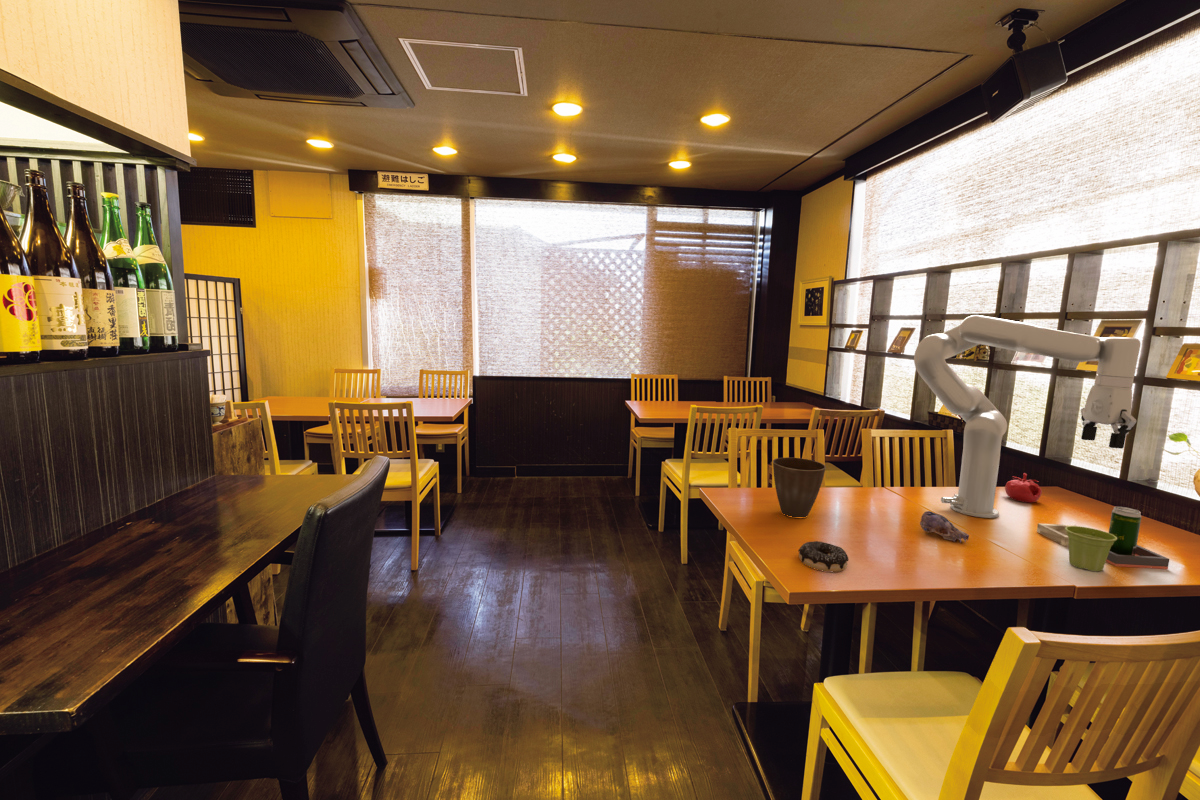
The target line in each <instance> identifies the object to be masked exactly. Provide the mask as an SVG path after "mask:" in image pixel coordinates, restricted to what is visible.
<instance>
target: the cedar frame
mask: <svg viewBox="0 0 1200 800" xmlns="http://www.w3.org/2000/svg"><path fill="white" fill-rule="evenodd" d="M1067 526H1077V525H1076V524H1075V525H1073V524H1056V523H1037V528H1036V532H1037V533H1038V534H1041V535H1042V536H1044V537H1046V538H1048V539H1049V540H1051V541H1053V542H1055V543H1057V544H1059V545H1062V546H1063V547H1069V539H1068V536H1067V531H1066V530H1065V527H1067Z"/></svg>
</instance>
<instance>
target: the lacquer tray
mask: <svg viewBox="0 0 1200 800" xmlns="http://www.w3.org/2000/svg"><path fill="white" fill-rule="evenodd" d="M1105 563H1108V564H1110V565H1112V566H1115V567H1125V568H1126V567H1128V568H1142V569H1143V568H1144V569H1158V570H1159V569H1160V570H1168V569H1169V564H1170V558H1168V557H1166V556H1163V555H1161V554H1159V553H1157V552H1154V551H1152V550H1150V549H1148V548H1145V547H1143V546H1141V545H1138V544H1137V546H1136V552H1135V556H1133V555H1118V554H1115V553H1113V552H1111V551H1109V554H1108V556H1107V559H1106V562H1105Z"/></svg>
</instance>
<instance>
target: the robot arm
mask: <svg viewBox="0 0 1200 800" xmlns="http://www.w3.org/2000/svg"><path fill="white" fill-rule="evenodd" d="M979 345H983V346H990V347H994V348H999V349H1004V350H1007V351H1014V352H1020V353H1025V354H1027V353H1028V354H1034V355H1040V356H1044V357H1049V358H1054V359H1059V360H1065V361H1070V362H1076V363H1085V362H1098V363H1097V369H1096V375H1095V379H1094V383H1093V385H1092V386H1091V388H1090V390H1089V392H1088V395H1087V398H1086V401H1085V405H1084V407H1083V408H1081V409H1080V415H1081V421H1082V423H1081V424H1082V426H1083V427H1082V433H1081V437H1080V439H1081V440H1083V441H1095V440H1096V436H1097V430H1098V426H1097V425H1098V424H1100V425H1101V424H1102V425H1106V426H1109V425H1111V428H1112V431H1113V432H1111V433H1110V438H1109V443H1108V448H1111V449H1124V447H1125V443H1126V437H1127V435H1129V433H1130V431H1132V430H1133V428H1134V426H1135V424H1136V423H1137V419H1136V418H1135V417H1134V416H1133V415H1132V414H1131V412H1132V403H1133V390H1132V389H1133V384H1134V379H1135V374H1136V369H1137V364H1138V363H1137V362H1138V360H1139V354H1140V348H1141V341H1140V339H1138V338H1136V337H1126V336H1125V337H1123V336H1107V337H1103V336H1101V337H1100V336H1094V335H1089V334H1082V333H1076V332H1070V331H1066V330H1065V331H1064V330H1059V329H1058V330H1057V329H1054V328H1053V329H1052V328H1047V327H1042V326H1038V325H1035V324H1032V323H1028V322H1022V321H1018V320H1017V321H1015V320H1010V319H1004V318H998V317H993V316H986V315H979V314H972V315H970V316H967V317H965V318H964V319H963V320H962V321H961V323H960V324H959V325H957V326H954V327H952V328H950V329H949V330H946V331H944V332H942V333H934V334H933V333H932V334H929V335H926V337H924V338H922V339H921V341H920V342H919V343H918V345H917V347H916V349H915V351H914V355H913V356H914V357H913V362H914V367H915V369H916V372H917V373H918V375H919V377H920V378H921V379H922V380H923V381H924V383H925V384H926V385H927V386H928V388H929V389H930V391H932V393H933V394H934V395H935V396H936V397H937V398H938V399H939V401H940V403H942V404H943V406H944V407H945V408H946V410H948V411H949V412H950V413H951V414H953V415H955V416H956V415H958V416H960V417H961V418H962V420H964V422H965V426H964V428H963V429H964V430H963V443H962V444H963V449H962V456H961V466H960V474H959V475H960V476H959V482H958V492H957V494H955V493H954V494H953V496H951V497H948V496H942V497H941V498H940V502H941V503H942V504H949V505H950V509H952V510H953V511H955V512H956V513H957V512H958V513H960V514H962V515H966V516H971V517H976V518H985V519H986V518H987V519H993V518H994V519H995V518H998V517H999V516H1000V512H999V511H998V510H997V509H996V508H994V507H995V506H994V504H995V497H996V489H997V484H998V483H997V482H998V474H999V468H1000V467H999V466H1000V461H1001V460H1000V459H1001V448H1002V439H1003V436H1004V435H1005V433H1006V432H1007V430H1008V423H1007V420H1006V418H1005V416H1004V415H1003V414H1002V413H1001V411H999V409H997V408H996V407H997V406H995V405H994V403H992V401H990V400H989V398H988V397H987V396H986V395H985V394H984V393H983V392H982V391H981V390H980V389H979V388H978V387H976V386H975V385H971V384H968V383H965V382H964V381H963V380H962V378H960V376H959V375H958V374H957V373H956V371H954V369H952V367H951V366H949V364H948V363H947V361H946V360H947V359H951V358H952V357H954V356H956V355H959V354H961V353H963V352H965V351H968V350H970V349H972V348H974V347H977V346H979Z"/></svg>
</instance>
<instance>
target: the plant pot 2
mask: <svg viewBox="0 0 1200 800" xmlns="http://www.w3.org/2000/svg"><path fill="white" fill-rule="evenodd" d="M1065 530H1066V531H1067V536H1068V539H1069V546H1068V559H1069V562H1068V563H1070V565H1072V566H1074V567H1075V568H1077V569H1086V570H1088V571H1091V572H1102V571H1103V569H1104V567H1105V565H1106V563H1107V562H1106V559H1107V556H1108V554H1109V551H1110V548H1111V546H1112V545H1113V543H1114V541H1116V540H1117V537H1116V536H1114V535H1112V534H1110V533H1109V532H1107V531H1104V530H1100V529H1096V528H1092V527H1086V526H1079V525H1076V526H1067V527H1065Z"/></svg>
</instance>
